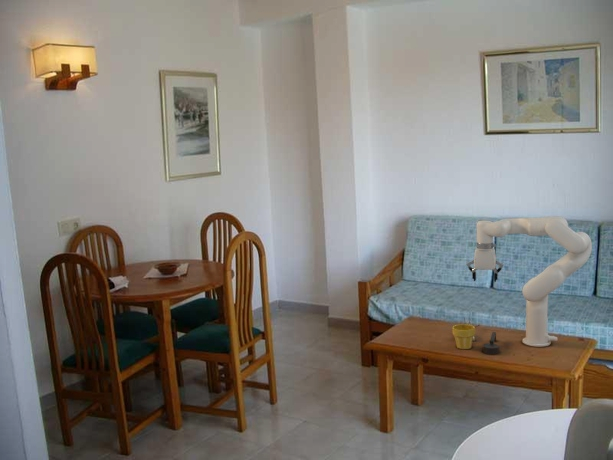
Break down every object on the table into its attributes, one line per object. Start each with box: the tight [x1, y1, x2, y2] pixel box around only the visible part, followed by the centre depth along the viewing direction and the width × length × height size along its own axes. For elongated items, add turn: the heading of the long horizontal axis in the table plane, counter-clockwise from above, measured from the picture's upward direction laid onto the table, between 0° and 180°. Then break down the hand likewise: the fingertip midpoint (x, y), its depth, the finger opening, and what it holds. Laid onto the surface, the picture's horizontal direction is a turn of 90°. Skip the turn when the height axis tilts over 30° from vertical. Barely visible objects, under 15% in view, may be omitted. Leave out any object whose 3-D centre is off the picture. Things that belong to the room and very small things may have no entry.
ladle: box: [482, 331, 500, 356], centre depth 310 cm, size 21×7×4 cm, turn 159°
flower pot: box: [452, 323, 476, 350], centre depth 311 cm, size 10×10×10 cm
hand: (484, 280), depth 322 cm, fingers open, 9 cm apart
